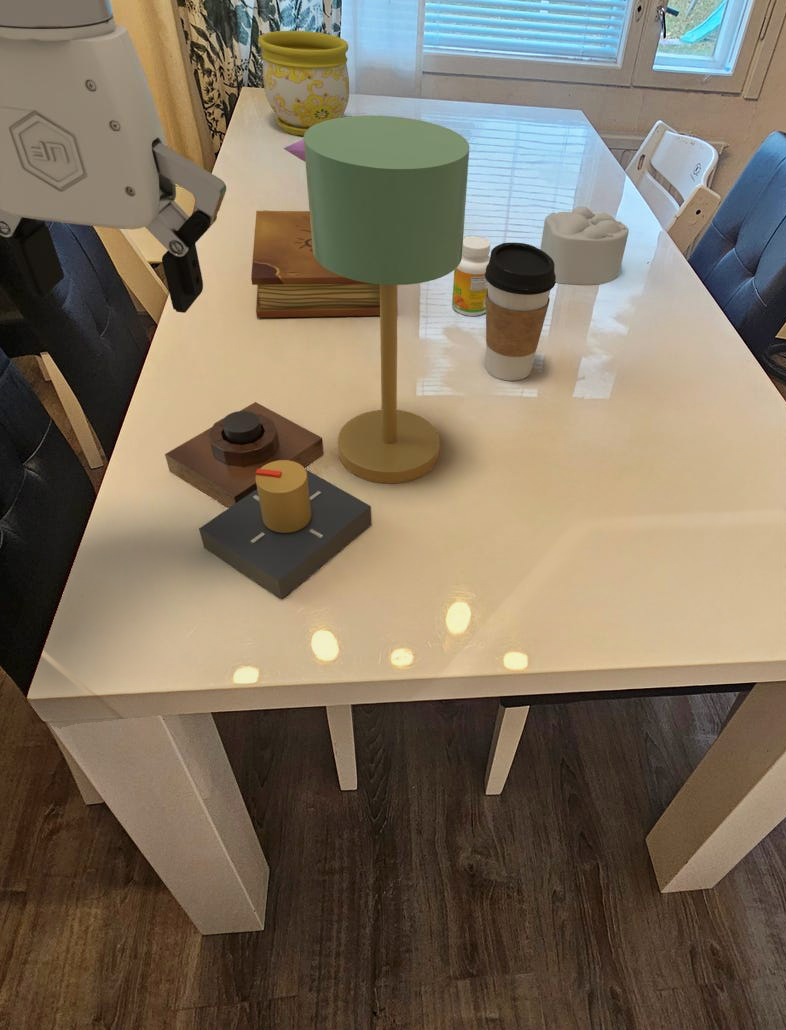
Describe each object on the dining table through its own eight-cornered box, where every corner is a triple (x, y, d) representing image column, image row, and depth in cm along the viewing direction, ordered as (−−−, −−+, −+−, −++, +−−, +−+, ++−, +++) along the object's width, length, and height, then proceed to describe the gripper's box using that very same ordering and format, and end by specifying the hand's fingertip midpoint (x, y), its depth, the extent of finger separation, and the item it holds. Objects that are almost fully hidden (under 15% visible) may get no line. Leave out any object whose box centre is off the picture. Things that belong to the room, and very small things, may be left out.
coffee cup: (517, 345, 96) (531, 236, 85) (553, 377, 91) (573, 265, 81) (464, 359, 92) (473, 247, 82) (499, 392, 87) (513, 278, 77)
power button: (242, 450, 70) (239, 436, 69) (217, 436, 71) (214, 422, 70) (269, 433, 72) (267, 420, 71) (244, 420, 73) (242, 406, 72)
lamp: (398, 507, 71) (400, 182, 49) (303, 454, 76) (267, 135, 54) (471, 446, 79) (500, 143, 57) (381, 401, 84) (377, 106, 62)
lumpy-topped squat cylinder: (535, 255, 117) (542, 202, 111) (609, 256, 120) (620, 204, 114) (548, 284, 110) (557, 229, 104) (627, 285, 112) (640, 231, 106)
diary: (395, 316, 99) (395, 277, 95) (257, 318, 95) (251, 278, 91) (380, 246, 115) (379, 210, 111) (261, 246, 111) (256, 209, 107)
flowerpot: (368, 131, 157) (366, 45, 146) (306, 146, 146) (298, 54, 135) (313, 111, 164) (307, 27, 153) (250, 124, 154) (239, 35, 142)
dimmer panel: (281, 599, 62) (278, 579, 60) (203, 547, 65) (197, 527, 63) (371, 524, 69) (371, 504, 67) (297, 481, 73) (294, 461, 71)
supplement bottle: (446, 300, 103) (450, 235, 97) (481, 297, 105) (487, 232, 98) (458, 318, 100) (463, 251, 93) (493, 315, 102) (501, 249, 95)
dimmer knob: (316, 503, 67) (312, 460, 63) (304, 536, 64) (299, 492, 60) (270, 497, 67) (263, 454, 63) (256, 530, 64) (248, 486, 60)
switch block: (237, 513, 69) (231, 482, 66) (169, 470, 72) (160, 439, 69) (323, 453, 76) (321, 424, 73) (258, 417, 80) (253, 388, 77)
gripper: (-187, -16, 34) (-38, 307, 46) (166, 25, 34) (224, 336, 46) (-87, -35, 40) (23, 258, 52) (218, 0, 40) (258, 285, 52)
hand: (118, 295), depth 49 cm, fingers open, 9 cm apart
